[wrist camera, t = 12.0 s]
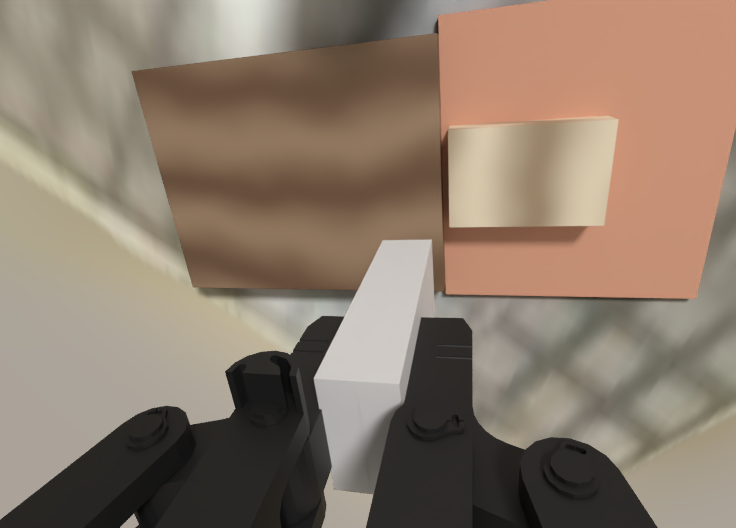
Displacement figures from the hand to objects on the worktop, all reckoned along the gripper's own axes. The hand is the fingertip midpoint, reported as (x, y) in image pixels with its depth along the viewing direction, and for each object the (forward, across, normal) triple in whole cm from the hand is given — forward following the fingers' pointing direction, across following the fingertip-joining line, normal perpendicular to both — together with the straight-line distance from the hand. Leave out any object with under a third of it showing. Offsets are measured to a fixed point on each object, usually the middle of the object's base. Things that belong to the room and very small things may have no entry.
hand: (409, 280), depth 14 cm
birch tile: (+17, +5, 0) cm, 17 cm away
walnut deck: (+17, -10, 0) cm, 20 cm away
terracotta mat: (+17, +8, 0) cm, 19 cm away
